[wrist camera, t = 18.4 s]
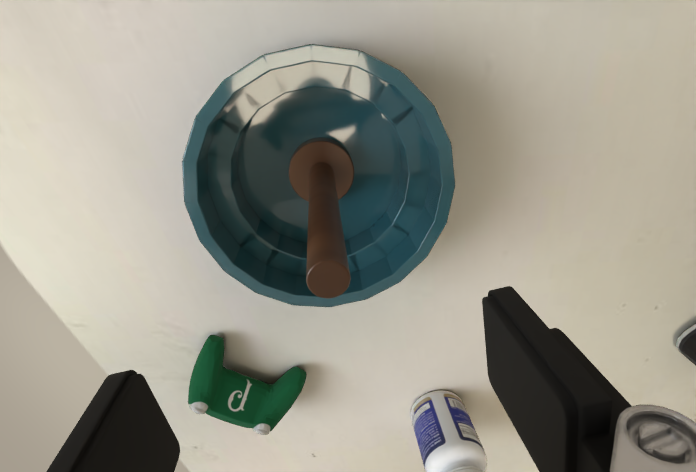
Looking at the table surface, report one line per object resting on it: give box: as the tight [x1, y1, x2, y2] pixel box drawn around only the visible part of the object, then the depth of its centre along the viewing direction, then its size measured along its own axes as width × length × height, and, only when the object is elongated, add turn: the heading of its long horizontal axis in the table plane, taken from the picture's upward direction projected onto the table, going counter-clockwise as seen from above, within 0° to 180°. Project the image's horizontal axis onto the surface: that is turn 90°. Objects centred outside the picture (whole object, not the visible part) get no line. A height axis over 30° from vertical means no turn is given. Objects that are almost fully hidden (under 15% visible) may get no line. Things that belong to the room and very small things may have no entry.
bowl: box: [182, 44, 455, 307], centre depth 27 cm, size 16×16×6 cm
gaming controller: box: [188, 335, 306, 435], centre depth 35 cm, size 9×4×6 cm
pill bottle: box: [411, 391, 487, 472], centre depth 36 cm, size 5×5×9 cm
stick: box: [289, 138, 354, 299], centre depth 22 cm, size 4×4×15 cm
